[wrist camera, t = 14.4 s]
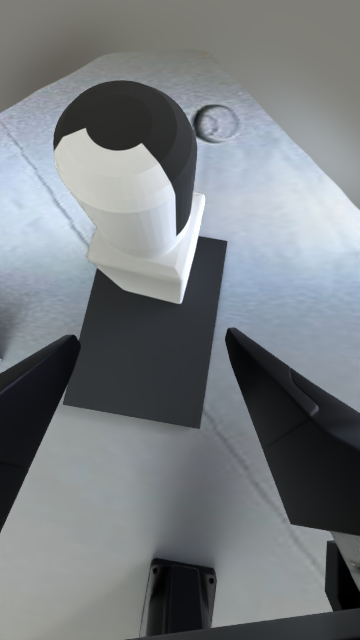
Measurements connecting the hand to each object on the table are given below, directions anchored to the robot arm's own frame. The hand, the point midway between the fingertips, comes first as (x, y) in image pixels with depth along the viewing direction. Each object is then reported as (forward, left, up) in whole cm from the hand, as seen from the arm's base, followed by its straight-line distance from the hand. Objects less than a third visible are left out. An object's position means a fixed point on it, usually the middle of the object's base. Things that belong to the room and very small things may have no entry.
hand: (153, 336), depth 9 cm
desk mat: (+2, +2, -8) cm, 9 cm away
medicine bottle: (+8, +2, -8) cm, 11 cm away
